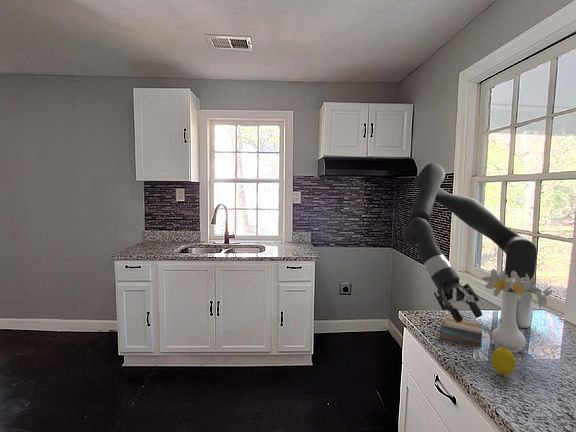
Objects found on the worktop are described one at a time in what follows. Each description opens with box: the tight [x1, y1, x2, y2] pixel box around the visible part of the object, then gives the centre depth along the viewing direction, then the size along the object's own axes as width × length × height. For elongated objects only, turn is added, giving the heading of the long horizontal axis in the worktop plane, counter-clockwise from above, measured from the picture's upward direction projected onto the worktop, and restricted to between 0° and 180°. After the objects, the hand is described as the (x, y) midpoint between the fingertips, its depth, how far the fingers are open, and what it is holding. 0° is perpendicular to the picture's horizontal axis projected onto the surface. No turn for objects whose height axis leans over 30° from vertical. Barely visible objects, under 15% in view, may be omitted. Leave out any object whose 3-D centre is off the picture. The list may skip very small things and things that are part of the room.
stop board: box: [440, 316, 483, 348], centre depth 118 cm, size 18×12×4 cm, turn 150°
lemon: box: [490, 347, 516, 377], centre depth 91 cm, size 6×6×8 cm
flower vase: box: [482, 268, 553, 354], centre depth 105 cm, size 13×18×25 cm
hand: (470, 319), depth 99 cm, fingers open, 8 cm apart
